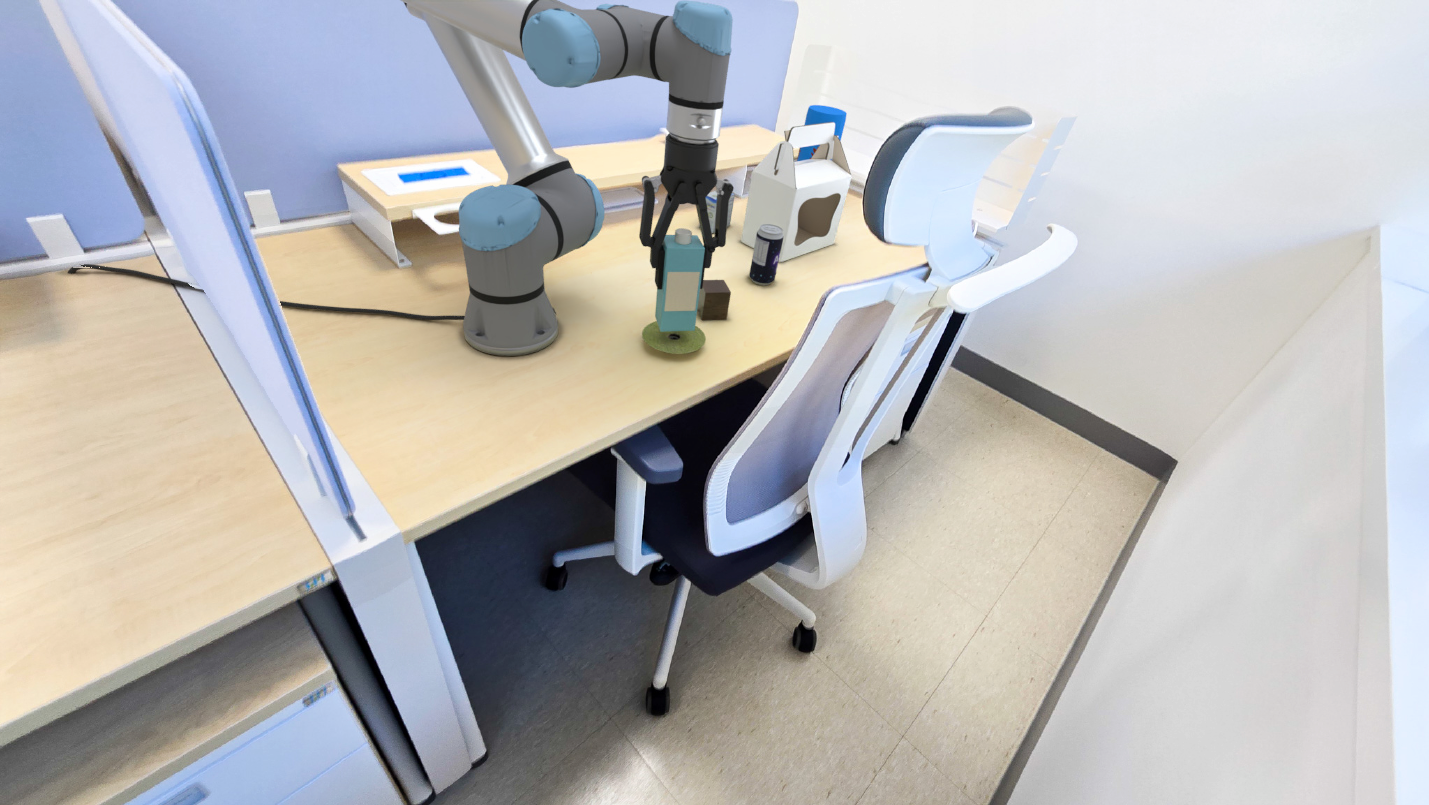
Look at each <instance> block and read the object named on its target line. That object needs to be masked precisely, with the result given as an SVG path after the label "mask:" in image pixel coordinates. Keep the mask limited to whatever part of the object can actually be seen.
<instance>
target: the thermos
mask: <svg viewBox="0 0 1429 805" xmlns="http://www.w3.org/2000/svg"><path fill="white" fill-rule="evenodd" d="M804 120H805V121H804V125H811V124H819V123H827V122H834V123H835V131H834V135H838V136H839V137H838V138H839V139H840V141H842V136H843V133H844V129H845V124H846V120H847V112H846V111H845V110H843V109H841V108H837V107H833V106H828V105H820V104H811V105H809V106H808V109H807V111H806V115H805V119H804ZM820 145H821V144H819V145H813V146H807V147H801V148H798V155H797V157H796V158H797V159H796V162H797V161H803V160H808V159H811V158H812V157H813V155H814V154H815V152H816V151H817V149H818V148H819V146H820ZM830 160H832V159H830Z"/></svg>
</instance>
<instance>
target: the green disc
mask: <svg viewBox="0 0 1429 805" xmlns="http://www.w3.org/2000/svg"><path fill="white" fill-rule="evenodd" d="M641 337H642V339H643V341H644V342H645V343H646V345H649V346H650V347H651V348H653V349H655V350H657V351H660V352H663V353H667V354H673V355H675V354H676V355H685V354H691V353H692V352H695V351H699V350H700V349H701V348H702V347H704V345H705V344H706V341H707V338H706V334H705V332H704V331H703V330H702V329H701V328H699V327H698V326H697V325H695V331H665V332H660V329H659V326H658V323H657V320H655V321H652V322H651V323H649V324H646V325H645V327H644V328H643V329H642V332H641Z"/></svg>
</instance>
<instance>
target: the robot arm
mask: <svg viewBox="0 0 1429 805" xmlns="http://www.w3.org/2000/svg"><path fill="white" fill-rule="evenodd" d="M400 1H401V2H403V4H404V6H405V8H406V9H407V11H408V13H409V14H410V15H411V16H413V17H415V18H417V19H419V20H422V21H424V22H425V23H426V26H427V27H428V29H429V31H430V32H431V35H432V36H433V38H434V40H435V42H436V44H437V46H438V48H439V49H440V51H441V53H442V55H443V57H444V58H445V61H446V62H447V64H448V66H449V68H450V69H451V72H452V73H453V75H454V77H455V79H456V81H457V83H458V85H459V86H460V88H461V90H462V92H463V94H464V95H465V97H466V99H467V101H468V103H469V105H470V106H471V108H472V110H473V112H474V114H475V116H476V117H477V119H478V121H479V123H480V124H481V127H482V129H483V131H484V132H485V135H486V136H487V138H488V139H489V142H490V144H491V146H492V147H493V149H494V151H495V153H496V155H497V157H498V158H499V160H500V162H501V164H502V166H503V168H504V170H505V171H506V173H507V178H506V179H507V180H506V183H505V184H499V185H497V186H496V185H495V186H494V185H493V184H492V185H488V186H483V187H479V188H478V189H476V190H474V191H472V192H470V193H468V194H467V195H466V196H465V197H464V198H463V199H462V200H461V202H460V204H459V207H458V220H459V221H458V222H459V224H458V233H459V237H460V240H461V245H462V246H461V247H462V252H463V257H464V264H465V269H466V276H467V283H468V289H469V294H468V300H467V304H466V309H465V313H464V315H425V314H424V315H423V314H415V313H408V312H401V311H394V310H387V309H377V308H361V307H360V308H357V307H341V306H329V305H319V304H317V305H316V304H308V303H307V304H306V303H298V302H290V301H285V300H279V301H280V303H281V305H282V307H288V308H290V307H291V308H297V309H304V310H305V309H307V310H315V311H316V310H317V311H327V312H328V311H329V312H338V313H339V312H340V313H355V314H356V313H357V314H375V315H386V316H395V317H401V318H406V319H407V318H408V319H414V320H415V319H416V320H422V321H423V320H425V321H462V322H463V323H462V329H463V333H464V339H465V340H466V342H467V343H468V345H470V346H471V347H472V348H473V349H475V350H477V351H479V352H481V353H485V354H489V355H493V356H500V357H517V356H524V355H529V354H533V353H535V352H538V351H542V350H543V349H545V348H547V347H548V346H550V345H551V344H552V343H553V342H554V341H555V340H556V338H557V336H558V333H559V322H558V319H557V312H556V309H555V308H554V307H553V306H552V304H551V301H550V299H549V297H548V294H547V293H546V290H545V273H544V267H545V265H547V264H549V263H551V262H554V261H556V260H557V259H559V258H561V257H563V256H565V255H567V254H569V253H571V252H574V251H576V250H578V249H581V248H582V247H585V246H586V245H587V244H588V243H590V242H592V240H594V239H595V238H596V237H597V236H598V235H599V233H600V232H601V231H602V228H603V225H604V224H603V223H604V221H605V204H604V200H603V197H602V194H601V192H600V190H599V188H598V187H597V185H596V184H595V183H594V182H593V181H592V180H591V179H590V178H587V177H586V175H583V174H581V173H576V172H575V170H574V168H573V166H572V164H571V162H570V160H569V158H567V157H565V156H563V155H560V154H558V153H557V152H555V150H554V149H553V147H552V144H551V142H550V140H549V138H548V137H547V135H546V132H545V131H544V128H543V126H542V125H541V123H540V121H539V118H538V117H537V114H536V113H535V111H534V109H533V107H532V105H531V103H530V101H529V99H528V97H527V95H526V93H525V91H524V89H523V87H522V84H521V83H520V81H519V79H518V77H517V75H516V73H515V71H514V69H513V67H512V65H511V63H510V61H509V59H508V57H507V55H506V53H508V54H510V55H512V56H514V57H517V58H519V59H521V60H523V61H525V62H526V64H527V67H528V68H529V70H530V71H531V72H532V73H533V74H534V75H535V76H536V79H538V80H539V81H540V82H541V83H542V84H545V85H547V86H549V87H553V88H567V89H573V88H579V87H582V86H584V85H587V84H588V85H589V84H593V83H594V84H595V83H598V82H604V81H610V80H611V81H612V80H615V79H616V80H617V79H620V78H621V79H623V78H627V77H632V76H633V77H634V76H635V77H642V78H646V79H651V80H656V81H659V82H663V83H668V101H667V114H666V115H667V116H666V128H665V129H666V131H667V132H668V134H667V135H666V136H665V140H664V141H665V144H664V155H663V156H664V157H663V167H662V169H661V170H660V173H659V174H658V175H655V176H650V177H649V176H648V175H644V176H642V177H641V183H642V188H643V192H644V193H643V199H642V200H643V202H642V209H641V218H640V225H639V226H640V227H639V235H638V237H639V238H638V239H639V240H640V243H641V245H642V246H643V247H647V248H650V249H649V250H650V252H649V253H650V254H649V263H650V266H651V269H655V270H654V272H655V273H654V284H655V286H656V290H657V289H662V285H663V272H664V260H665V250H664V248H663V246H662V243H663V241H664V238H665V236H666V235H667V233H668V232H669V229H670V226H671V225H672V224H671V223H672V221H673V218H674V216H675V213H676V212H677V211H678V209H679V207H680V205H685V204H690V205H692V206H693V205H694V206H695V209H696V214H697V218H698V222H699V224H700V228H699V229H700V233H701V238H702V244H703V246H704V248H705V251H704V259H703V267H702V276H701V284H700V289H702V287H703V280H705V270H706V269H710V268H711V267H712V266H711V265H712V259H713V253H715V251H716V248H723V247H725V246H726V242H727V232H728V230H727V228H728V227H727V218H728V205H729V199H730V197H731V194H732V193H733V192H734V189H735V188H734V186H733V184H732V183H731V181H730V180H729V179H727V178H725V179H721V178H720V177H719V178H718V176H717V172H716V170H717V162H718V154H719V153H718V152H719V145H720V144H719V142H718V140H717V139H718V138H719V137H720V136H721V128H722V119H723V110H724V103H725V94H726V93H725V92H726V85H727V79H728V72H729V63H730V57H731V53H732V35H733V22H734V20H733V19H734V18H733V15H732V12H731V11H730V10H729V9H728V8H727V7H725V6H722V5H718V4H715V3H708V2H701V1H694V0H678V1H677V2H676V3H675V5H674V9H673V14H672V15H664V14H659V13H655V12H651V11H646V10H641V9H638V8H632V7H630V6H629V5H626V4H625V5H624V4H609V3H601V4H599V5H598V6H597V7H596V9H581V8H577V7H573V6H571V5H570V4H567V3H565V2H562V1H560V0H400ZM505 52H506V53H505ZM661 185H662V186H663V187H664V189H665V191H666V192H667V194H666V196H665V199H664V204H663V207H662V209H661V212H660V215H659V217H658V220H657V222H656V225H655V227H654V230H653V232H652V229H653V228H652V227H653V220H654V219H653V218H654V213H655V212H654V211H655V203H656V194H657V193H658V192H659V187H660V186H661ZM714 188H715V191H716V192H717V203H716V219H715V232H714V236H713V233H711V227H710V222H709V217H708V211H707V203H706V196H707V195H708V194H709V193H710V192H712V191H713V189H714ZM651 234H652V235H651ZM83 264H84V265H81V264H80V265H81V266H83V267H85V266H86V267H90V268H73V266H72V267H70V268H69V269H68V270H67V274H68V275H69V274H70V275H71V274H75V273H76V272H78V271H79V270H87V269H89V270H96V271H97V270H98V271H104V272H112V273H121V274H128V275H134V276H138V277H142V278H147V279H151V280H155V281H158V282H163V283H168V284H172V285H178V286H181V287H185V288H189V289H194V290H196V289H195V288H194V287H192V286H190V285H189V284H188V283H189V282H186V281H182V280H178V279H174V278H170V277H166V276H160V275H155V274H152V273H147V272H143V271H139V270H135V269H128V268H122V267H121V268H120V267H119V268H118V267H112V266H106V267H105V265H98V264H90V263H83ZM91 267H92V268H91ZM99 267H100V268H99ZM281 305H280V306H281Z"/></svg>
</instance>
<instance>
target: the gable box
mask: <svg viewBox="0 0 1429 805" xmlns="http://www.w3.org/2000/svg"><path fill="white" fill-rule="evenodd" d="M834 131H835V123H834V122H827V123H819V124H811V125H805V124H804V125H796V126H792V127H791V128H790V129H788V130H784V140H782V141H779V142H778V143H776V145H775V146H774V147H772V149H771V150H770V151H769V152H768V154H767V155H766V156H765V157H764V158H762V160H761V161H760V162H759V163H758V164H757V165H756V166H755V167H754V169H752V170H751V171H752V172H751V178H750V184H749V189H748V190H749V191H748V196H747V202H746V207H745V214H744V218H743V219H744V220H743V226H742V232H741V237H740V238H741V239H740V243H742V244H744V245H746V246H748V247H750V248H752V249H754V246H755V240H756V235H757V231H758V230H759V229H760V226H761V225H763V224H772V225H776V226H779V227H780V228H782V229H783V236H784V238H783V243H782V247H781V252H780V257H779V261H778V263H783V262H786V261H788V260H791V259H794V258H797V257H800V256H803V255H806V254H809V253H812V252H815V251H818V250H820V249H823V248H827V247H828V246H833V245H834V243H835V240H836V236H837V233H838V228H839V226H840V222H841V219H842V218H841V217H842V214H843V211H844V206H845V203H846V199H847V197H848V196H847V195H848V192H849V189H850V185H851V181H852V178H853V177H852V173H851V170H850V166H849V164H848V160H847V156H846V155H845V151H844V147H843V144H842V142H841V141H842V140H841V141H840V139H839V138H838V137H839V136H838V135H834ZM819 144H821V145H820V146H819V148H818V149H817V151H816V152H815V154H814V155H813V157H812V158H811V159H808V160H803V161H797V160H796V161H795V156H794V149H800V148H801V147H807V146H813V145H819ZM830 159H832V160H830Z"/></svg>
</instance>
